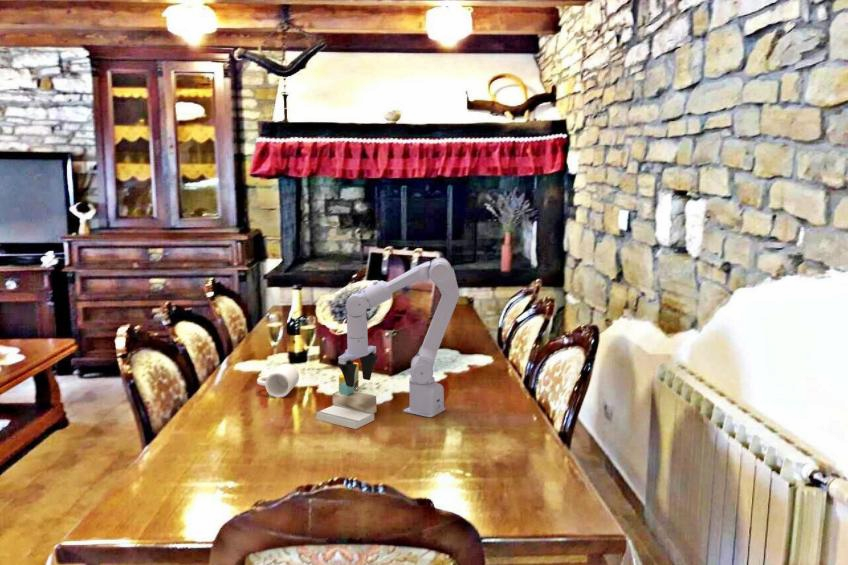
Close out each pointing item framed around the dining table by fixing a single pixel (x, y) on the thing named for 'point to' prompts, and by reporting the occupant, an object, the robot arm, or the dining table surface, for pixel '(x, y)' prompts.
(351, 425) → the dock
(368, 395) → the thick cream slab
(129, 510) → the dining table surface
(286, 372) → the mug
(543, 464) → the dining table surface
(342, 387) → the matte teal cube
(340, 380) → the candy box
